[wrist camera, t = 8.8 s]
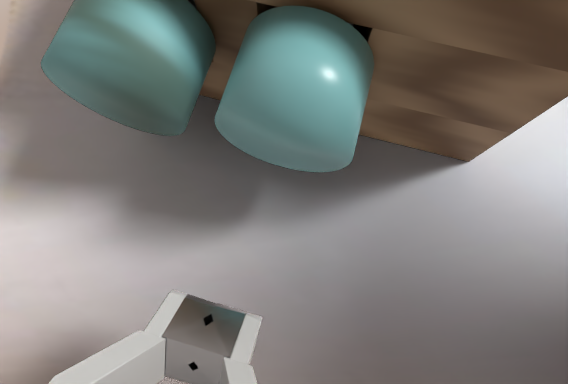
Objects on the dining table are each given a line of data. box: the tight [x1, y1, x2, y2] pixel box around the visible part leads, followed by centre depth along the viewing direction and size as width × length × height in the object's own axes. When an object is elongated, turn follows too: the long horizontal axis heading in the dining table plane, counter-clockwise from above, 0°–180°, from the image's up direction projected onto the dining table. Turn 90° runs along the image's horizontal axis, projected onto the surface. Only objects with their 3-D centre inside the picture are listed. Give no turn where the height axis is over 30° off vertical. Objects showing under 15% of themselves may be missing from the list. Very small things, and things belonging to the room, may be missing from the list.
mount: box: [41, 0, 568, 162], centre depth 16 cm, size 20×15×11 cm
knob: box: [215, 6, 374, 172], centre depth 15 cm, size 6×14×6 cm, turn 165°
